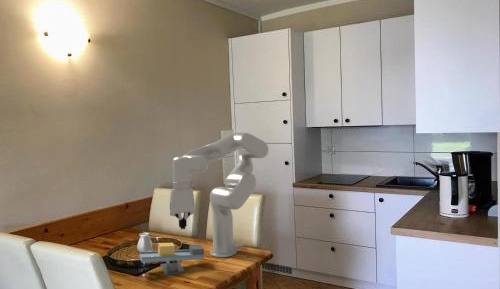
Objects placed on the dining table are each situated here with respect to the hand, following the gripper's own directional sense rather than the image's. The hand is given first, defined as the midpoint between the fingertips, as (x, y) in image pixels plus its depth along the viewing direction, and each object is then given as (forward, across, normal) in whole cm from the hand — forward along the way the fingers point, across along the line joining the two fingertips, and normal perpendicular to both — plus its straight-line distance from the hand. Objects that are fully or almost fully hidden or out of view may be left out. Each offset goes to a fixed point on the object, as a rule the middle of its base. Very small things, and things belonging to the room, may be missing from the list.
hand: (182, 228), depth 165 cm
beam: (+12, +5, 0) cm, 13 cm away
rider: (+11, +7, 0) cm, 13 cm away
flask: (+17, +13, -19) cm, 29 cm away
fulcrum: (+17, +5, 0) cm, 18 cm away
